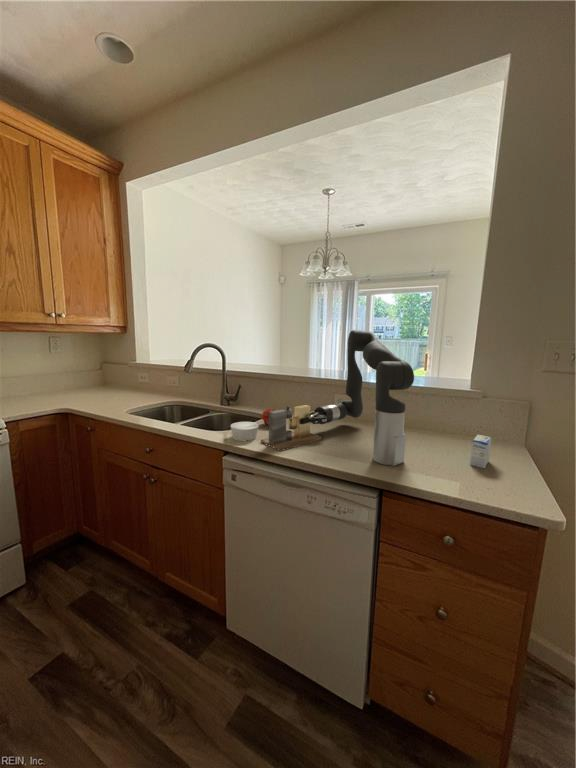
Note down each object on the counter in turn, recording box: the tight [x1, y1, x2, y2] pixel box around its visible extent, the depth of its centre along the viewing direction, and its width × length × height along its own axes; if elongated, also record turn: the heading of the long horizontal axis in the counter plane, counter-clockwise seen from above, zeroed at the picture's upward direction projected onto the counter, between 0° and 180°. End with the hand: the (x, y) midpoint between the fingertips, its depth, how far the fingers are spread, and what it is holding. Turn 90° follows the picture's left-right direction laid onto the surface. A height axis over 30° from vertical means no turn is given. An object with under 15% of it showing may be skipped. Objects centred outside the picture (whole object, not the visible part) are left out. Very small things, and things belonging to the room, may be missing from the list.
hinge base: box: [260, 405, 323, 451], centre depth 124 cm, size 12×22×14 cm, turn 131°
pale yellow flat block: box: [288, 404, 311, 438], centre depth 127 cm, size 3×10×12 cm, turn 131°
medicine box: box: [469, 434, 493, 469], centre depth 105 cm, size 8×4×9 cm, turn 141°
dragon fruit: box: [260, 407, 276, 426], centre depth 146 cm, size 8×8×12 cm
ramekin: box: [230, 421, 259, 441], centre depth 128 cm, size 11×11×5 cm
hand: (297, 420), depth 126 cm, fingers closed on pale yellow flat block, 3 cm apart
